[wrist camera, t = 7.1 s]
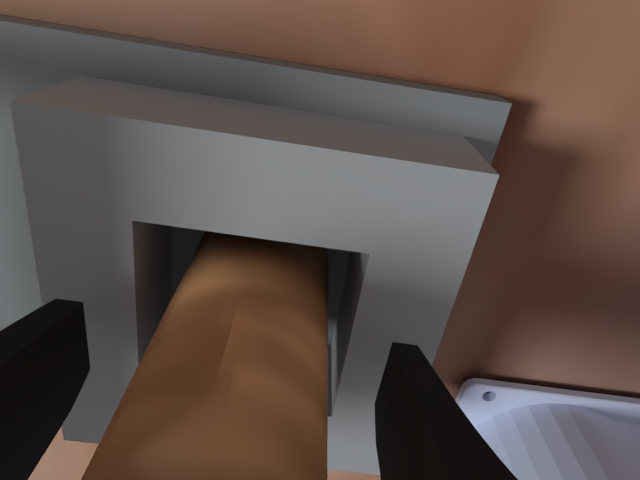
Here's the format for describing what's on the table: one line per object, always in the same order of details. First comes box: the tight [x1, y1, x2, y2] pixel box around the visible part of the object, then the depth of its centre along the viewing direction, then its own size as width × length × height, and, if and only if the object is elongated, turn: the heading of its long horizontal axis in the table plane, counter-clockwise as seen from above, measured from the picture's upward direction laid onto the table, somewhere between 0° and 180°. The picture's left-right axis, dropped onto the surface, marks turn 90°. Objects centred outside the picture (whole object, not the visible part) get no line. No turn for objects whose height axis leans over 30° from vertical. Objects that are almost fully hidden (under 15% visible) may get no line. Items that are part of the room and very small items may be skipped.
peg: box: [81, 231, 328, 480], centre depth 11 cm, size 4×4×8 cm
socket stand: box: [0, 15, 512, 475], centre depth 11 cm, size 21×12×10 cm, turn 81°
